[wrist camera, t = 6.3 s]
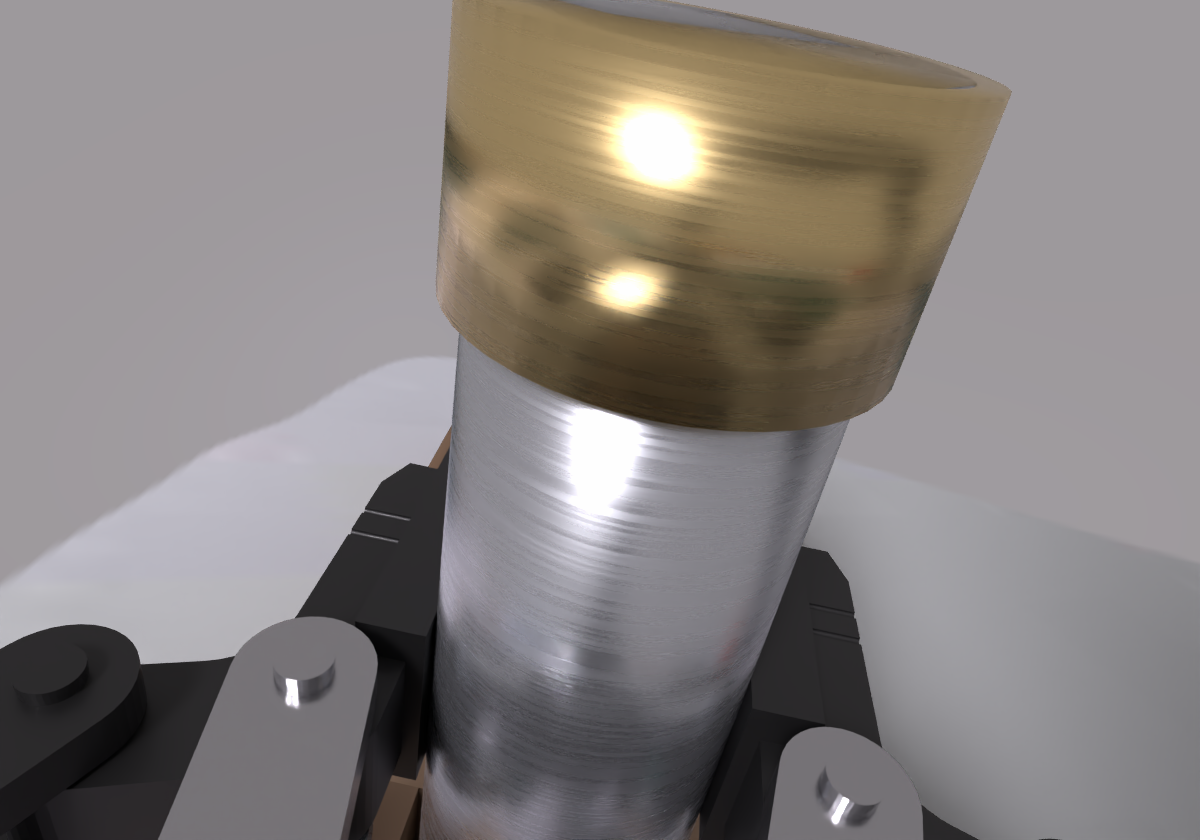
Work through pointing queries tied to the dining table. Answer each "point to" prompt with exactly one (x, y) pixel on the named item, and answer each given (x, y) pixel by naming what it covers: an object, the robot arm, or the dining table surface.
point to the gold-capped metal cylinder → (656, 376)
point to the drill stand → (404, 796)
